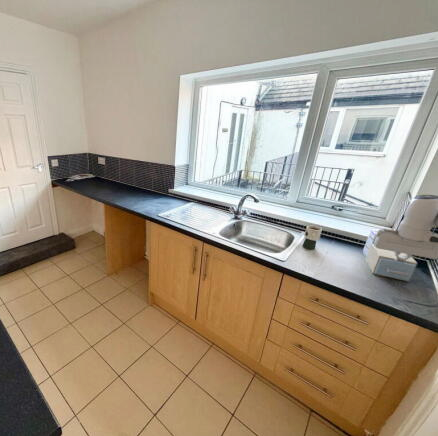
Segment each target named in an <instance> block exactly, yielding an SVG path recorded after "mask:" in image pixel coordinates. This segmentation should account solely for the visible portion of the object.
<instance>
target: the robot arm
mask: <svg viewBox="0 0 438 436" xmlns="http://www.w3.org/2000/svg"><path fill="white" fill-rule="evenodd" d="M432 228H438V195H436V194H420V195H419V194H418V195H416V196H414V197H413V198H411V200H410V201H409V202H408V205H407V206H406V209H405V211H404V214H403V219H402V220H401V221H400V223H399V224H398V227H397V229H390V228H381V229H379V230H378V233H377V237H376V239H375V241H374V246H375V247H376V248H378V249H384V250H389V251H394V254H395V256H396V257H395V261H397V262H402V263H405V261H406V260H407V259H409V258H411V257H412V258H413V256H416V257H421V258H426V259H432V260H438V234H437V233H435V232H433V231H431V230H432ZM400 253H405V254H406V256H404V257H403V258H402V257H399V256H398V255H400Z"/></svg>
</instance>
